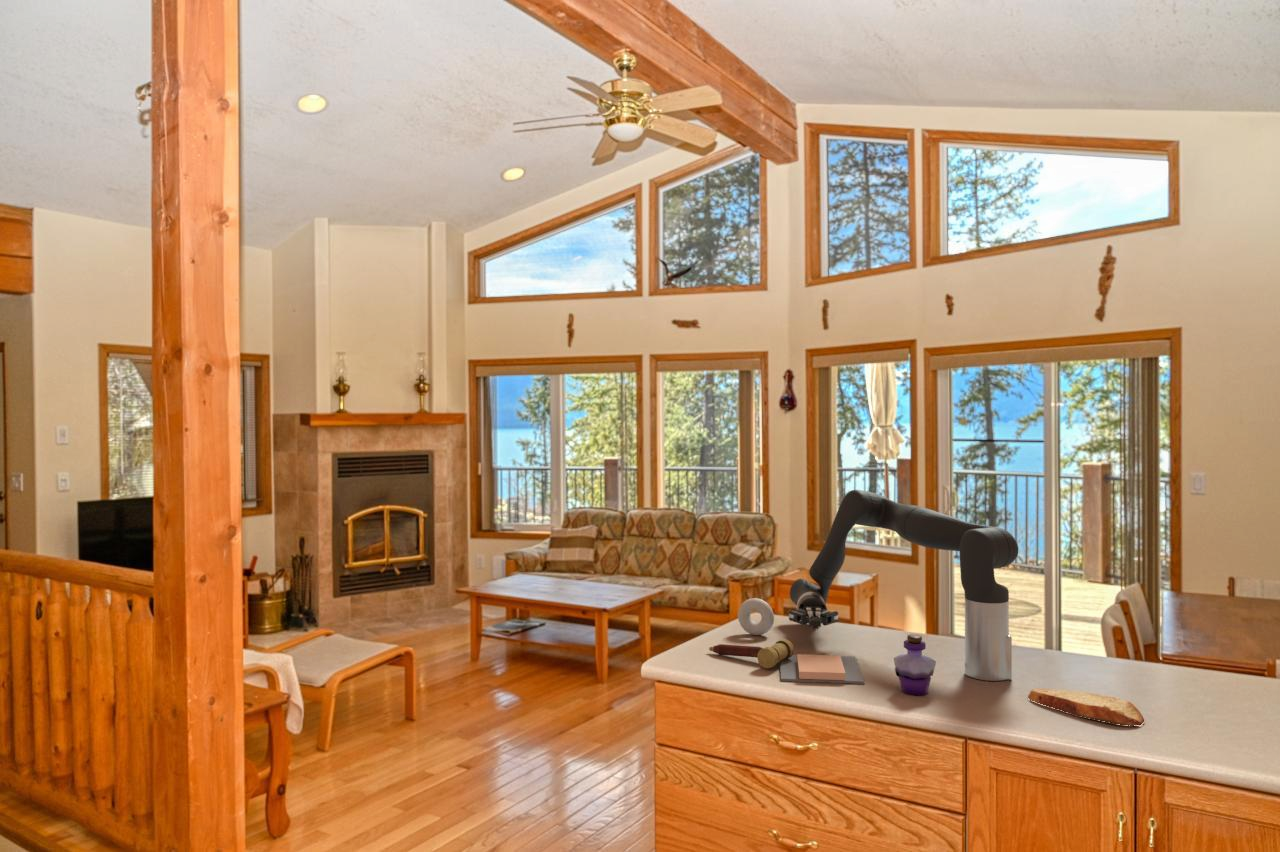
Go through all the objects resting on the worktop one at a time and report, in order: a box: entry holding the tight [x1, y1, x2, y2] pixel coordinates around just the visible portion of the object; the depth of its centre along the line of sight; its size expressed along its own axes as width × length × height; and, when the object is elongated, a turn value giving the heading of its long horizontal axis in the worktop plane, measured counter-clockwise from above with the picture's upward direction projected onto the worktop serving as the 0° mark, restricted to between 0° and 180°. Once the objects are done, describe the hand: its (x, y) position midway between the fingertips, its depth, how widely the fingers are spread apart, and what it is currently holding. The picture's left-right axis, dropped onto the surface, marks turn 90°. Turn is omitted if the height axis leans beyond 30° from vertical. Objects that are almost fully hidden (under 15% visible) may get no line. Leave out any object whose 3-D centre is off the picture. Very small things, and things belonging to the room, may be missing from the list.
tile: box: [796, 653, 846, 680], centre depth 196 cm, size 10×2×14 cm
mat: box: [779, 653, 865, 685], centre depth 199 cm, size 18×20×1 cm
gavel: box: [708, 638, 795, 669], centre depth 208 cm, size 21×5×10 cm
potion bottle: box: [893, 634, 937, 697], centre depth 183 cm, size 9×9×12 cm
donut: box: [737, 597, 775, 636], centre depth 231 cm, size 10×4×10 cm, turn 65°
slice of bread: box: [1027, 688, 1145, 726], centre depth 171 cm, size 18×18×4 cm
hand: (815, 624), depth 211 cm, fingers closed
